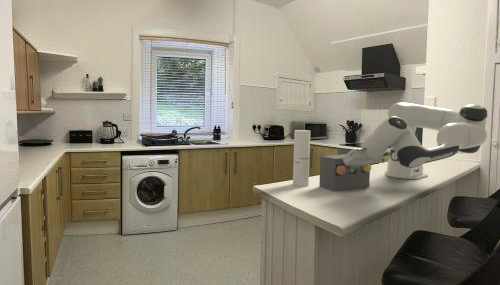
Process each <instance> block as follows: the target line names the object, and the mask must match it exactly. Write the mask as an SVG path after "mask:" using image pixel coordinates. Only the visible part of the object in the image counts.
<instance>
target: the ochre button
mask: <svg viewBox="0 0 500 285" xmlns="http://www.w3.org/2000/svg"><path fill="white" fill-rule="evenodd" d="M362 171H364V172H370V173H371V171H372V164H364V165H362Z"/></svg>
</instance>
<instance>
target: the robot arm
mask: <svg viewBox="0 0 500 285" xmlns="http://www.w3.org/2000/svg"><path fill="white" fill-rule="evenodd" d="M387 116H388V118H386V119H385V120H383V122H381V123H380V124H379V125H378V126H377V127H376V128H375V129H374V131H373V133H371V134H370V135H369V136H368V137H367V138H366V139H365V140H364V141H363V142H362V143H361V145H360V146H361V147H360V148H358V147H357V148H353V149H351V150H349V152H347V153H346V155H345V156H344V157H343V162H344V163H345V165H346V166H350V165H351V166H350V167H351V169H357V168H359V167H360V166H362V165H364V164H371V165H372V164H377V163H380V162H381V161H382V160H384V158H386V156H387V157H388V156H390V157H389V158H388V160H387V165H386V166H387V167H386V171H384V174H385V175H386V176H387V177H389V178H390V177H391V178H397V179H408V180H409V179H410V180H420V179H422V178H427V177H428V176H429V174H427V173H425V172H424V166H423V165H425V164H428V163H432V162H436V161H440V160H444V159H447V158H450V157H454V156H455V155H456V154H458V152H460V153H463V154H475V153H477V152H478V151H479V150H480V147H481V145H483V144H484V143H485V142H486V140H487V136H488V134H487V130H486V124H487V118H488V109H486V107H485V106H482V105H479V104H475V103H474V104H465V105H463V106H462V107H461V108H460V110H458V111H457V110H455V109H454V110H453V109H449V108H443V107H436V106H430V105H428V106H427V105H424V104H423V105H421V104H415V103H412V102H411V103H410V102H402V101H401V102H396V103H394V104H393V105H391V106H390V107H389V109H388V112H387ZM417 128H423V129H427V130H431V131H432V130H433V131H436V132H437V131H438V132H437V134H436V144H437V146H436V147H431V148H425V147H424V146H423V145H422V144H421V142H420V141H419V139H418V138H417V136H416V131H417ZM389 148H390V149H389Z"/></svg>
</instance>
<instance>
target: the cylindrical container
mask: <svg viewBox="0 0 500 285" xmlns="http://www.w3.org/2000/svg"><path fill="white" fill-rule="evenodd" d="M293 134H294V135H293V136H294V137H293V140H294V141H293V165H292V166H293V167H292V168H293V171H292V185H293V186H294V187H302V188H303V187H305V188H307V187H309V183H310V153H311V130H307V129H306V130H305V129H295V130H294V132H293Z"/></svg>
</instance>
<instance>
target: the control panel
mask: <svg viewBox="0 0 500 285" xmlns="http://www.w3.org/2000/svg"><path fill="white" fill-rule="evenodd" d="M346 154H347V153H346ZM346 154H344V153H343V154H331V155H320V157H319V158H320V162H319V163H320V164H319V186H318V188H322V189H324V190H328V191H332V192H339V191H346V190H352V189H360V188H366V187H367V188H368V187H370V178H371V177H370V176H371V171H370V172H364V171H362V166H360V167H359V168H357V169H356V170H355V172H354V173H350V172H349V166H346V165H345V163H344V162H343V157H344V156H345V155H346ZM336 165H341V166H344V167H345V168H346V172H345V174H344V175H339V174H336Z"/></svg>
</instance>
